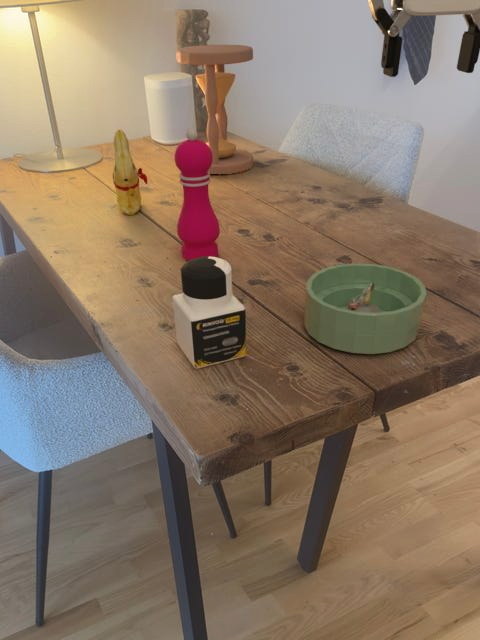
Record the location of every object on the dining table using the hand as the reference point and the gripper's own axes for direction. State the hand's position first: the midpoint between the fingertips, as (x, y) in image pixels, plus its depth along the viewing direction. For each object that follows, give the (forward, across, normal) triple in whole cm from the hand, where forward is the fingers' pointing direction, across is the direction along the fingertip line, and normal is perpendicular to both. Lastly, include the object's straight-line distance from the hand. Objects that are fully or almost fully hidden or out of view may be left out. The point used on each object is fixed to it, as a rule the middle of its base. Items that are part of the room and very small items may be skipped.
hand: (427, 73), depth 69 cm
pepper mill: (+28, +28, -19) cm, 44 cm away
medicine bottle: (+28, +30, +13) cm, 43 cm away
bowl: (+28, +9, +11) cm, 32 cm away
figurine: (+28, +9, +11) cm, 31 cm away
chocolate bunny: (+28, +39, -47) cm, 67 cm away
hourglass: (+28, +17, -76) cm, 83 cm away
